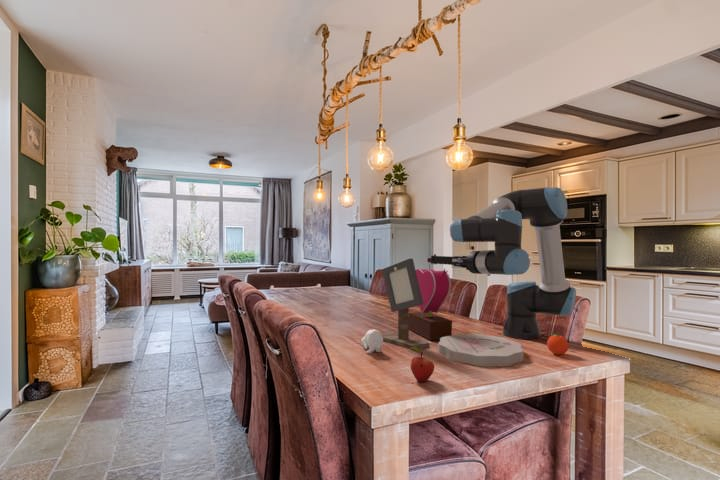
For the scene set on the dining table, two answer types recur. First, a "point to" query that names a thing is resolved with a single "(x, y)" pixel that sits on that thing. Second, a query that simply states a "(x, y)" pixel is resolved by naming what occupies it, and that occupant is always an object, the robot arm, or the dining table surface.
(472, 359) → the decorative plaque
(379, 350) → the white animal figurine
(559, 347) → the clementine
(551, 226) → the robot arm
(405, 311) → the display stand
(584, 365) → the dining table surface
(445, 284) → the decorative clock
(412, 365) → the apple
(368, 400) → the dining table surface
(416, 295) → the picture frame
